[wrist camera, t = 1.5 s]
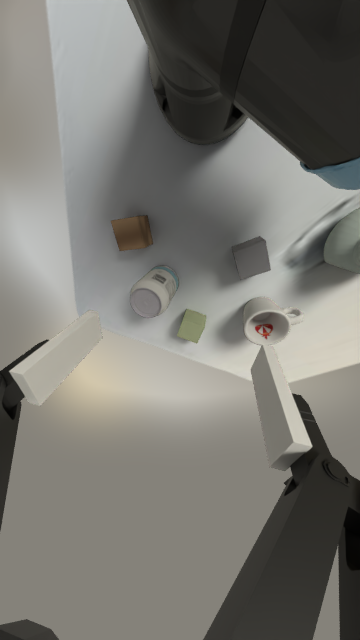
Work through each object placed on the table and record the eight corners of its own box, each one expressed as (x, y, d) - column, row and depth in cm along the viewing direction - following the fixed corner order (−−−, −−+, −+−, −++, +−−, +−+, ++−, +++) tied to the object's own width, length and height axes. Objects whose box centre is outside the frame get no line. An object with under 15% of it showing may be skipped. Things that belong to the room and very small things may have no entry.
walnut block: (123, 219, 35) (110, 220, 31) (147, 215, 34) (137, 216, 29) (130, 246, 37) (119, 251, 33) (153, 243, 36) (144, 247, 32)
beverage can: (143, 275, 40) (118, 296, 30) (167, 257, 37) (147, 275, 27) (162, 299, 42) (144, 326, 32) (185, 284, 39) (173, 310, 29)
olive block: (186, 308, 43) (183, 319, 38) (206, 315, 43) (204, 327, 38) (180, 324, 45) (176, 336, 41) (199, 331, 45) (197, 343, 41)
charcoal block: (231, 246, 34) (233, 252, 30) (259, 236, 32) (265, 240, 28) (238, 271, 36) (240, 279, 32) (264, 262, 34) (270, 270, 30)
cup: (294, 285, 35) (311, 303, 28) (293, 319, 39) (309, 341, 32) (237, 296, 38) (241, 314, 32) (242, 326, 42) (246, 348, 35)
